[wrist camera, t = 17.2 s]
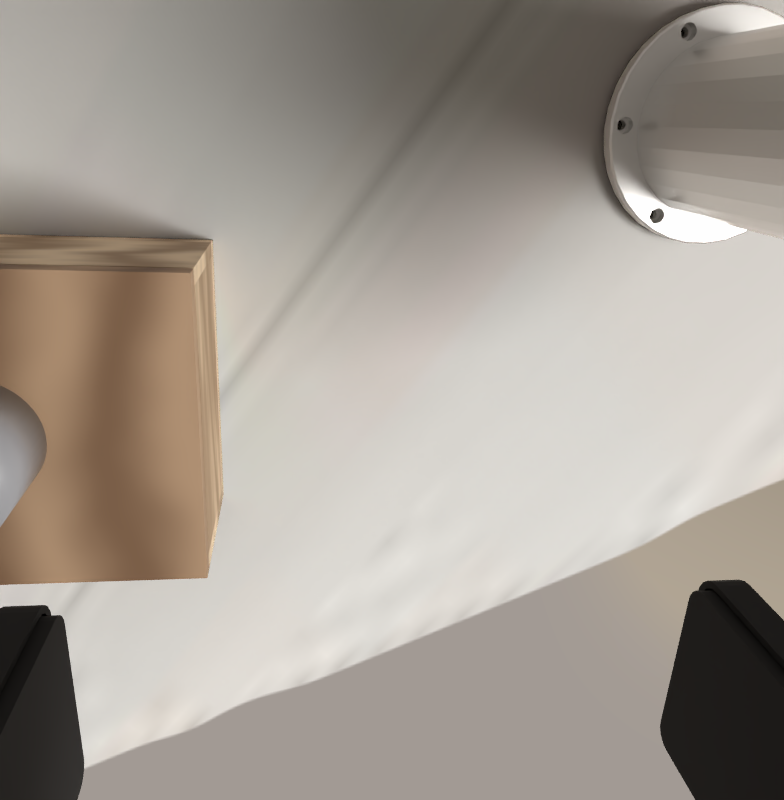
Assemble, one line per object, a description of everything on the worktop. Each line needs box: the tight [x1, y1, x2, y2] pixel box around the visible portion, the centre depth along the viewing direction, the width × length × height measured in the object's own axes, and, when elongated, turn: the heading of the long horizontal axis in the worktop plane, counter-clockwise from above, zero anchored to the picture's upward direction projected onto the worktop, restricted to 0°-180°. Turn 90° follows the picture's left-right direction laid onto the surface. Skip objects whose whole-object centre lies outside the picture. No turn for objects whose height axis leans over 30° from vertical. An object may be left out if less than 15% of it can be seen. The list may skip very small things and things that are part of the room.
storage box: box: [0, 234, 223, 566], centre depth 38 cm, size 20×16×8 cm
